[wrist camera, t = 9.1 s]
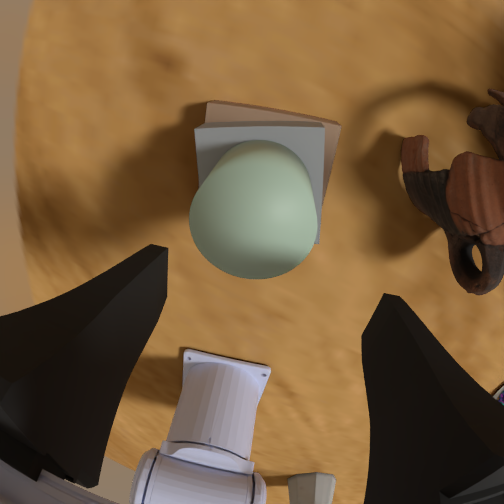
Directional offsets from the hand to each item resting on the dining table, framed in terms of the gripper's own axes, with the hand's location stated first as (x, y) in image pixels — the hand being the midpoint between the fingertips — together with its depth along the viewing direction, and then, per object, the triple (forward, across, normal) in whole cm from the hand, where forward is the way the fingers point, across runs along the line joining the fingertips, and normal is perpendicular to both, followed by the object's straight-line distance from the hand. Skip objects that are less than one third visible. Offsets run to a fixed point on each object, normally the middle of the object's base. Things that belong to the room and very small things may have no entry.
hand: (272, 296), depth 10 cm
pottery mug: (+11, -12, -4) cm, 16 cm away
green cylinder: (+6, +1, -1) cm, 7 cm away
